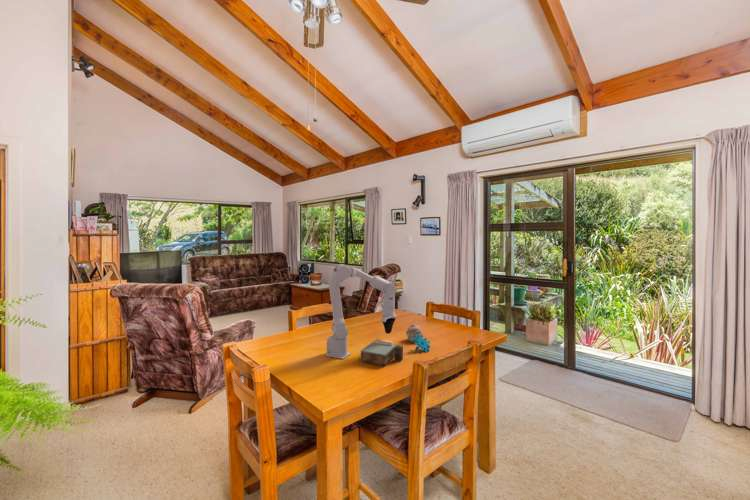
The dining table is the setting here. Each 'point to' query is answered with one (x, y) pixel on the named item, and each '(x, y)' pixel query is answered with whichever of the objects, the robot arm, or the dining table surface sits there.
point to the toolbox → (377, 358)
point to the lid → (379, 347)
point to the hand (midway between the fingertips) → (388, 332)
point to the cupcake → (413, 332)
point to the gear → (422, 343)
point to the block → (398, 353)
